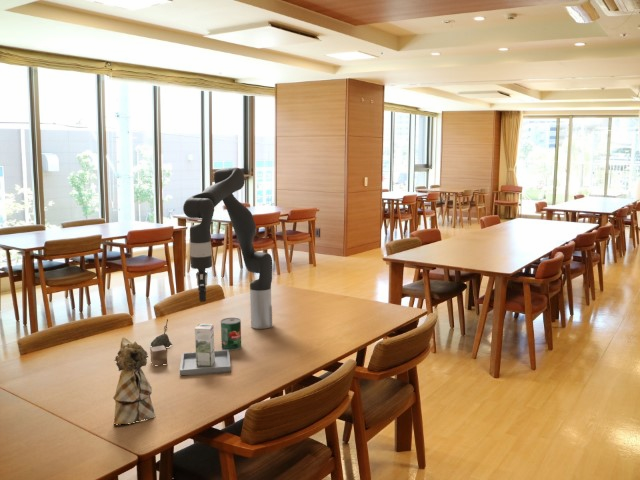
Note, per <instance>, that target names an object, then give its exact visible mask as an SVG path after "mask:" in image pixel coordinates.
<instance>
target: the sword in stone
mask: <svg viewBox="0 0 640 480" xmlns="http://www.w3.org/2000/svg"><path fill="white" fill-rule="evenodd" d="M168 323H169V319H168V318H166V324H165V326H163V327H164V328H163V332H164V333H163V334H160V335H158V336H156V337H155V338H154V339H153V340H152V341H151V342H150V346H152V347H157V346H163V345H164V346H165V348H166V347H169V346H170V345H173V344H172V342H171V341H170V338H169V335H168V334H167V331H168V327H167V326H168Z"/></svg>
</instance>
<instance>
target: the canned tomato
mask: <svg viewBox="0 0 640 480" xmlns="http://www.w3.org/2000/svg"><path fill="white" fill-rule="evenodd" d="M241 323H242V321H241V318H239V317H226V318H223V319H221V320H220V331H221V332H220V334H221V335H220V336H221V339H220V340H221V349H222V350H229V351H236V350H237V351H238V350H239V349H241V348H242V326H241Z"/></svg>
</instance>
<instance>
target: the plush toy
mask: <svg viewBox="0 0 640 480" xmlns="http://www.w3.org/2000/svg"><path fill="white" fill-rule="evenodd" d="M119 347H120V348H119V350H118V352H117V355H116V356H115V359H114V360H113V361H114V362H115V361H116V363H115V364H116V367H117V368H118V372H120V374H119V378H118V382H117V385H116V389H115V393H114V395H113V397H112V398H113V400H114V402H115V406H114V418H113V419H114V422H113V424H114V423H115V424H119V425H118V426H122V425H121V424H128V423H133V422H136V421H141V420H144V419H145V420H146V419H150V418H153V417H154V416H155V415H156V413H155V410H154V407H153V403H152V399H151V395H152V393H153V389H152V388H153V387H152V386H151V384H150V382H149V380H148V379H147V376H146V375H145V373H144V370H143V369H142V367H146V366H147V363H148V361H147V360H148V359H147V358H149V356H148V352H147V350H145V348H143V346H142V345H141V344H138V343H137V342H136V341H134V342H131V341H130V340H128V339H127V338H126V337H124V336H122V338H121V341H120V345H119ZM155 417H156V416H155ZM155 417H154V418H155ZM154 418H153V419H154ZM150 420H151V419H150Z"/></svg>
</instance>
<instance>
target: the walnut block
mask: <svg viewBox="0 0 640 480" xmlns="http://www.w3.org/2000/svg"><path fill="white" fill-rule="evenodd" d="M149 349H150V351H149V352H150V363H151V362H152V364H153V365H152V364H151V365H152V367H153V366H155V365H163V364H167V365H168V353H167V350H168V349H166V348H165V346H164V345H163V346H157V347H150V348H149Z"/></svg>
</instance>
